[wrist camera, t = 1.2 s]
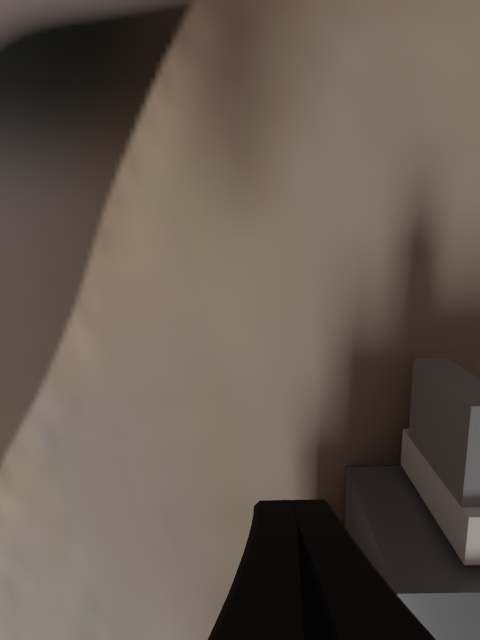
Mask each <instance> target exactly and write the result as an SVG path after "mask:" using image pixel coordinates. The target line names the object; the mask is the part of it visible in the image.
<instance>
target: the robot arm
mask: <svg viewBox="0 0 480 640" xmlns="http://www.w3.org/2000/svg"><path fill="white" fill-rule="evenodd" d="M208 640H436V639H435V638H434V637H433V636H432V634H431V633H430V632H429V631H428V630H427V629H426V628H425V627H424V626H423V624H422V623H421V622H420V621H419V620H418V619H417V618H416V617H415V615H414V614H413V613H412V612H411V611H410V610H409V609H408V607H407V606H406V605H405V604H404V603H403V602H402V600H401V599H400V598H399V597H398V596H397V595H396V593H395V592H394V591H393V590H392V588H391V587H390V586H389V585H388V583H387V582H386V581H385V580H384V578H383V577H382V576H381V575H380V574H379V572H378V571H377V570H376V569H375V567H374V566H373V565H372V564H371V562H370V561H369V560H368V558H367V557H366V556H365V554H364V553H363V552H362V551H361V549H360V548H359V546H358V545H357V544H356V542H355V541H354V540H353V538H352V537H351V536H350V534H349V533H348V531H347V530H346V529H345V527H344V526H343V524H342V523H341V521H340V520H339V518H338V517H337V515H336V514H335V512H334V511H333V509H332V508H331V506H330V505H329V504H328V503H327V502H326V501H325V500H273V501H259V502H258V503H257V504H256V505H255V506H254V514H253V520H252V525H251V530H250V533H249V537H248V540H247V544H246V547H245V550H244V554H243V556H242V559H241V562H240V565H239V567H238V570H237V573H236V575H235V578H234V581H233V584H232V586H231V589H230V591H229V594H228V596H227V598H226V601H225V603H224V605H223V607H222V610H221V612H220V614H219V616H218V619H217V621H216V623H215V625H214V627H213V630H212V632H211V634H210V636H209V638H208Z"/></svg>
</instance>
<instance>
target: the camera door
mask: <svg viewBox="0 0 480 640" xmlns="http://www.w3.org/2000/svg"><path fill="white" fill-rule="evenodd" d="M401 466H402V467H403V469H404V470H405V472H406V474H407V475H408V477H409V478H410V480H411V482H412V483H413V485H414V486H415V488H416V490H417V491H418V493H419V494H420V496H421V497H422V499H423V501H424V502H425V504H426V505H427V507H428V509H429V510H430V512H431V513H432V515H433V516H434V518H435V520H436V521H437V523H438V524H439V526H440V528H441V529H442V531H443V532H444V534H445V536H446V537H447V539H448V540H449V542H450V543H451V545H452V547H453V548H454V550H455V551H456V553H457V555H458V556H459V558H460V559H461V561H462V563H463V564H464V565H480V379H479V378H478V377H476V376H475V375H473V374H472V373H470V372H469V371H467V370H466V369H464V368H463V367H461V366H460V365H459V364H457V363H456V362H454V361H453V360H451V359H450V358H448V357H441V358H413V372H412V388H411V405H410V421H409V429H403V434H402V451H401Z"/></svg>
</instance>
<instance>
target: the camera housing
mask: <svg viewBox="0 0 480 640" xmlns="http://www.w3.org/2000/svg"><path fill="white" fill-rule="evenodd" d="M345 529H346V530H347V531H348V533H349V534H350V536H351V537H352V538H353V540H354V541H355V542H356V544H357V545H358V546H359V548H360V549H361V551H362V552H363V553H364V554H365V556H366V557H367V558H368V560H369V561H370V562H371V564H372V565H373V566H374V567H375V569H376V570H377V571H378V572H379V574H380V575H381V576H382V577H383V578H384V580H385V581H386V582H387V583H388V585H389V586H390V587H391V588H392V590H393V591H394V592H395V593H396V595H397V596H398V597H399V598H400V599H401V600H402V602H403V603H404V604H405V605H406V606H407V607H408V609H409V610H410V611H411V612H412V613H413V614H414V615H415V617H416V618H417V619H418V620H419V621H420V622H421V623H422V624H423V626H424V627H425V628H426V629H427V630H428V631H429V632H430V633H431V634H432V636H433V637H434V638H435V639H436V640H480V565H464V564H463V563H462V561H461V559H460V558H459V556H458V555H457V553H456V551H455V550H454V548H453V547H452V545H451V543H450V542H449V540H448V539H447V537H446V536H445V534H444V532H443V531H442V529H441V528H440V526H439V524H438V523H437V521H436V520H435V518H434V516H433V515H432V513H431V512H430V510H429V509H428V507H427V505H426V504H425V502H424V501H423V499H422V497H421V496H420V494H419V493H418V491H417V490H416V488H415V486H414V485H413V483H412V482H411V480H410V478H409V477H408V475H407V474H406V472H405V470H404V469H403V467H402V466H360V467H346V493H345Z"/></svg>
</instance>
